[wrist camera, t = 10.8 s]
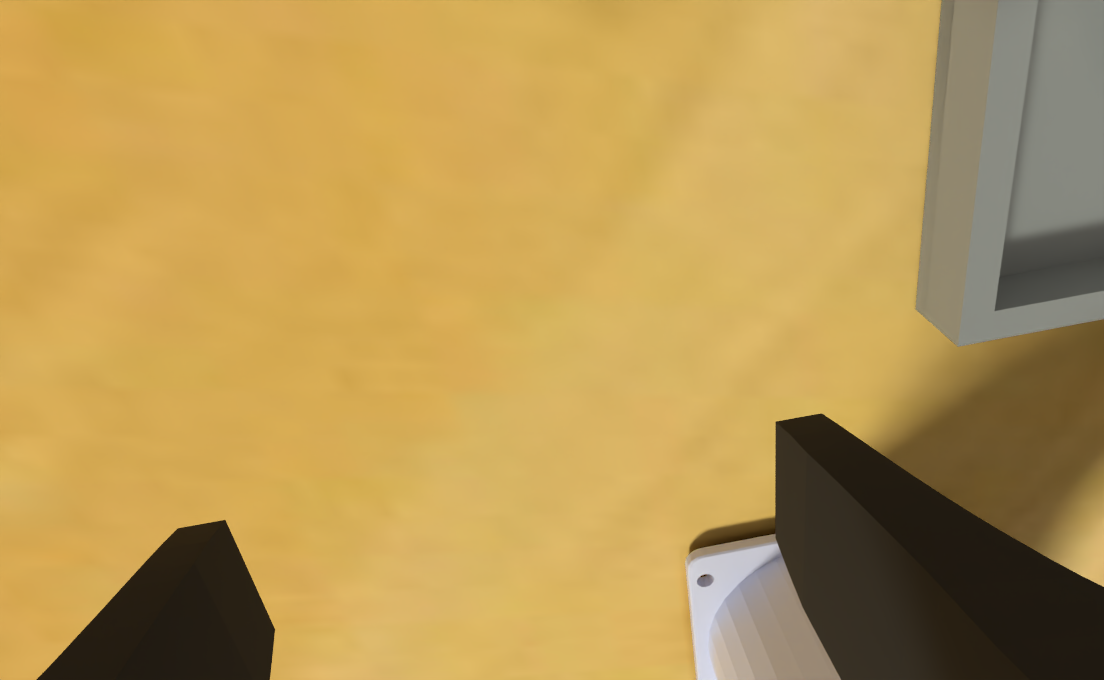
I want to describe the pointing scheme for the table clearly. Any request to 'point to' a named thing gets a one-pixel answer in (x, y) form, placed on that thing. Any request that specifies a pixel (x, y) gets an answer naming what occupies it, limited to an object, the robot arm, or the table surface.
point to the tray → (1015, 170)
